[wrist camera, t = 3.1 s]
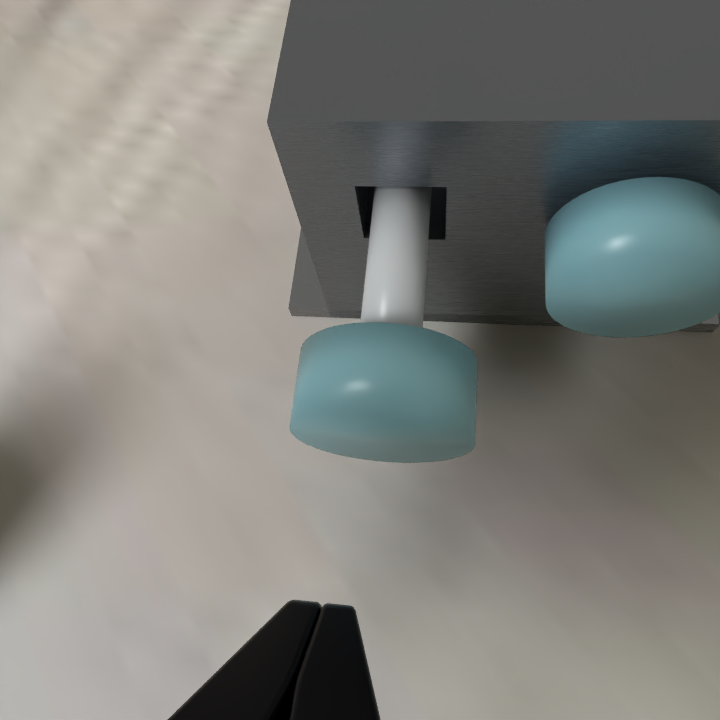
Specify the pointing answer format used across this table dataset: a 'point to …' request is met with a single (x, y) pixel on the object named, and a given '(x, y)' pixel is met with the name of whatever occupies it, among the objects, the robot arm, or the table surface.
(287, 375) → the table surface
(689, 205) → the seated knob
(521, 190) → the mount
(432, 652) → the table surface
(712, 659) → the table surface
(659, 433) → the table surface
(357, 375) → the popped knob
